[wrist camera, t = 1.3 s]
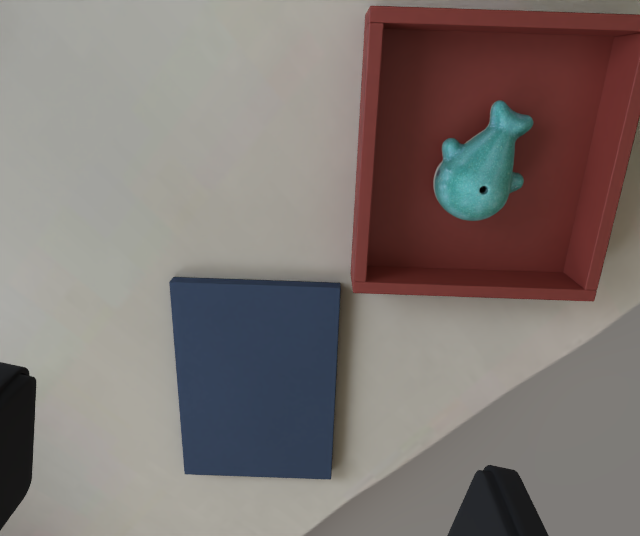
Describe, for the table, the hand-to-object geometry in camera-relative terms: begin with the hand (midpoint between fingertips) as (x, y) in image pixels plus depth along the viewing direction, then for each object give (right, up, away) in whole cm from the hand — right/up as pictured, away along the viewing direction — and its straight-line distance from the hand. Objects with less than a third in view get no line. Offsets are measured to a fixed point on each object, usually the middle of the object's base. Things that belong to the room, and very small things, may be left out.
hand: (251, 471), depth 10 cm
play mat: (-3, -4, +28) cm, 29 cm away
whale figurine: (+12, +11, +22) cm, 27 cm away
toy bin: (+12, +11, +22) cm, 27 cm away
